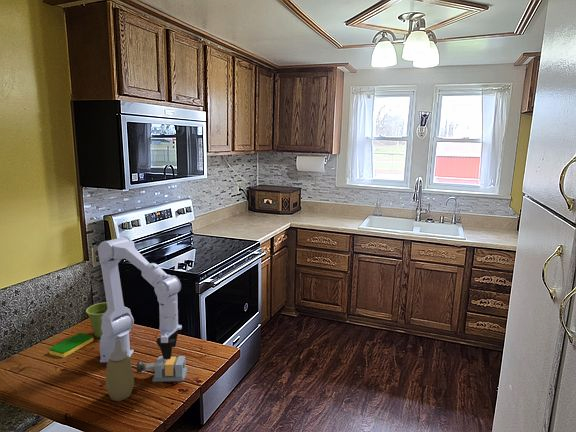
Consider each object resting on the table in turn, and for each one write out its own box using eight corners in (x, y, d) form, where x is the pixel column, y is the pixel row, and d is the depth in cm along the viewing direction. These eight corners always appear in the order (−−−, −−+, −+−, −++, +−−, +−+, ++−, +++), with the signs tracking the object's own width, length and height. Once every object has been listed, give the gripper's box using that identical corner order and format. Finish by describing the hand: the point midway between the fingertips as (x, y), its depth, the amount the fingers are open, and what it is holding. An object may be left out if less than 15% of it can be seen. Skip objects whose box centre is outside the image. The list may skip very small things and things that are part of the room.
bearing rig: (152, 381, 128) (151, 366, 127) (157, 370, 134) (156, 355, 133) (183, 380, 129) (183, 365, 128) (187, 370, 135) (186, 355, 134)
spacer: (165, 376, 129) (164, 364, 128) (168, 367, 134) (168, 356, 133) (173, 375, 129) (172, 364, 128) (176, 367, 134) (176, 356, 133)
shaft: (136, 374, 129) (136, 365, 128) (139, 368, 132) (139, 359, 132) (175, 373, 130) (175, 364, 129) (177, 368, 133) (177, 358, 133)
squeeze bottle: (106, 406, 116) (102, 349, 112) (106, 390, 123) (103, 337, 120) (135, 400, 119) (132, 344, 116) (134, 385, 126) (131, 332, 123)
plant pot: (90, 329, 163) (88, 303, 161) (121, 326, 167) (119, 300, 165) (85, 343, 152) (83, 315, 150) (118, 339, 156) (117, 312, 154)
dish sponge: (94, 341, 154) (93, 335, 154) (63, 358, 141) (62, 352, 141) (80, 338, 157) (79, 332, 156) (48, 354, 144) (48, 348, 143)
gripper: (176, 323, 121) (177, 364, 123) (185, 304, 135) (185, 341, 138) (153, 323, 121) (154, 364, 123) (164, 305, 135) (165, 341, 137)
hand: (169, 352), depth 130 cm, fingers open, 7 cm apart
